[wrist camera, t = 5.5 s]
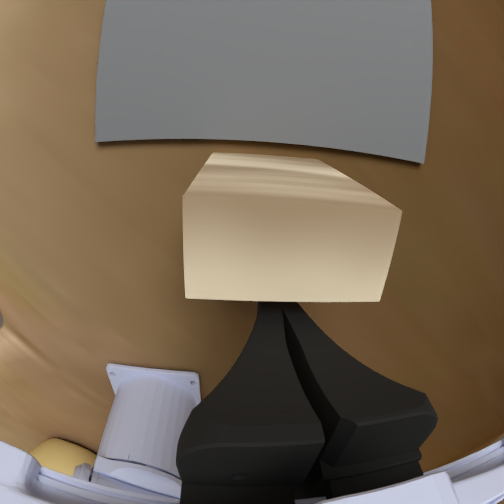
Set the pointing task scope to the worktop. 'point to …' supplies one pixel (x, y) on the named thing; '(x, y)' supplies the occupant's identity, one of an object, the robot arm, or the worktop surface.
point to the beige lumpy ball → (62, 455)
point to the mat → (268, 73)
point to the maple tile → (284, 232)
